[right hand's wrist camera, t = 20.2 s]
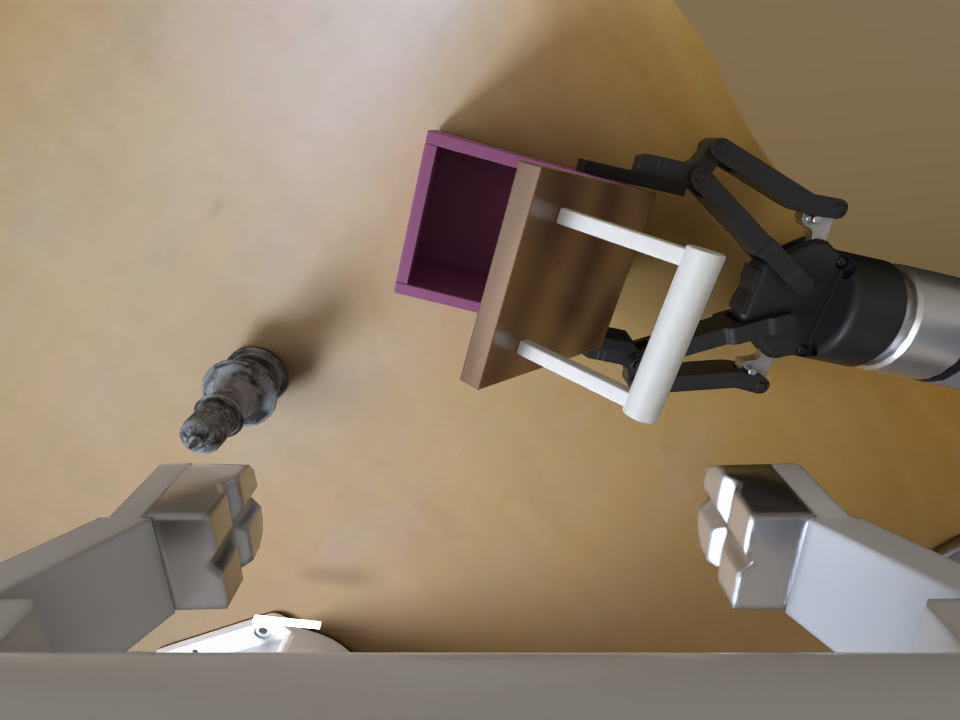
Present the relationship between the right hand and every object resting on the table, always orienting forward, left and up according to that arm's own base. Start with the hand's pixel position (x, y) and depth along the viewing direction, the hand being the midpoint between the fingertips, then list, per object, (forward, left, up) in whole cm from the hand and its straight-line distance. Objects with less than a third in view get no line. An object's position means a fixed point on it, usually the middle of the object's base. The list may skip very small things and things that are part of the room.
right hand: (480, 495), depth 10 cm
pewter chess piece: (-21, -10, -36) cm, 43 cm away
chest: (+2, -1, -36) cm, 36 cm away
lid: (+4, -1, -21) cm, 21 cm away
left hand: (+5, -2, -29) cm, 30 cm away
